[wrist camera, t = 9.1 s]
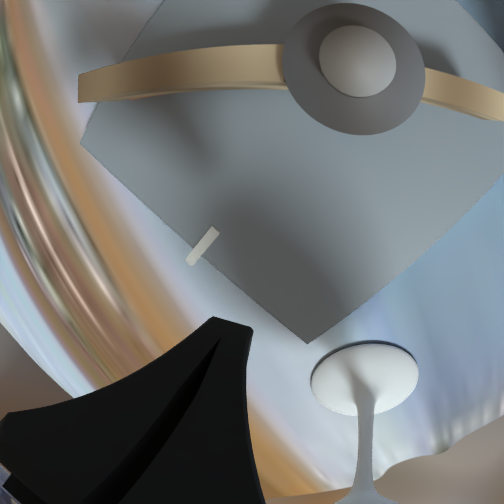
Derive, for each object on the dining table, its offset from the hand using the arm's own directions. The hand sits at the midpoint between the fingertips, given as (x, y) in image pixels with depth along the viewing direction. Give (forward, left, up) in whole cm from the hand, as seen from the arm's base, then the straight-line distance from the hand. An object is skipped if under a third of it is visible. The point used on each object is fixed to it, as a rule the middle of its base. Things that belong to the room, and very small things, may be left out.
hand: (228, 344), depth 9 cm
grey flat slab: (+4, -7, -9) cm, 12 cm away
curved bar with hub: (+5, -7, -8) cm, 12 cm away
